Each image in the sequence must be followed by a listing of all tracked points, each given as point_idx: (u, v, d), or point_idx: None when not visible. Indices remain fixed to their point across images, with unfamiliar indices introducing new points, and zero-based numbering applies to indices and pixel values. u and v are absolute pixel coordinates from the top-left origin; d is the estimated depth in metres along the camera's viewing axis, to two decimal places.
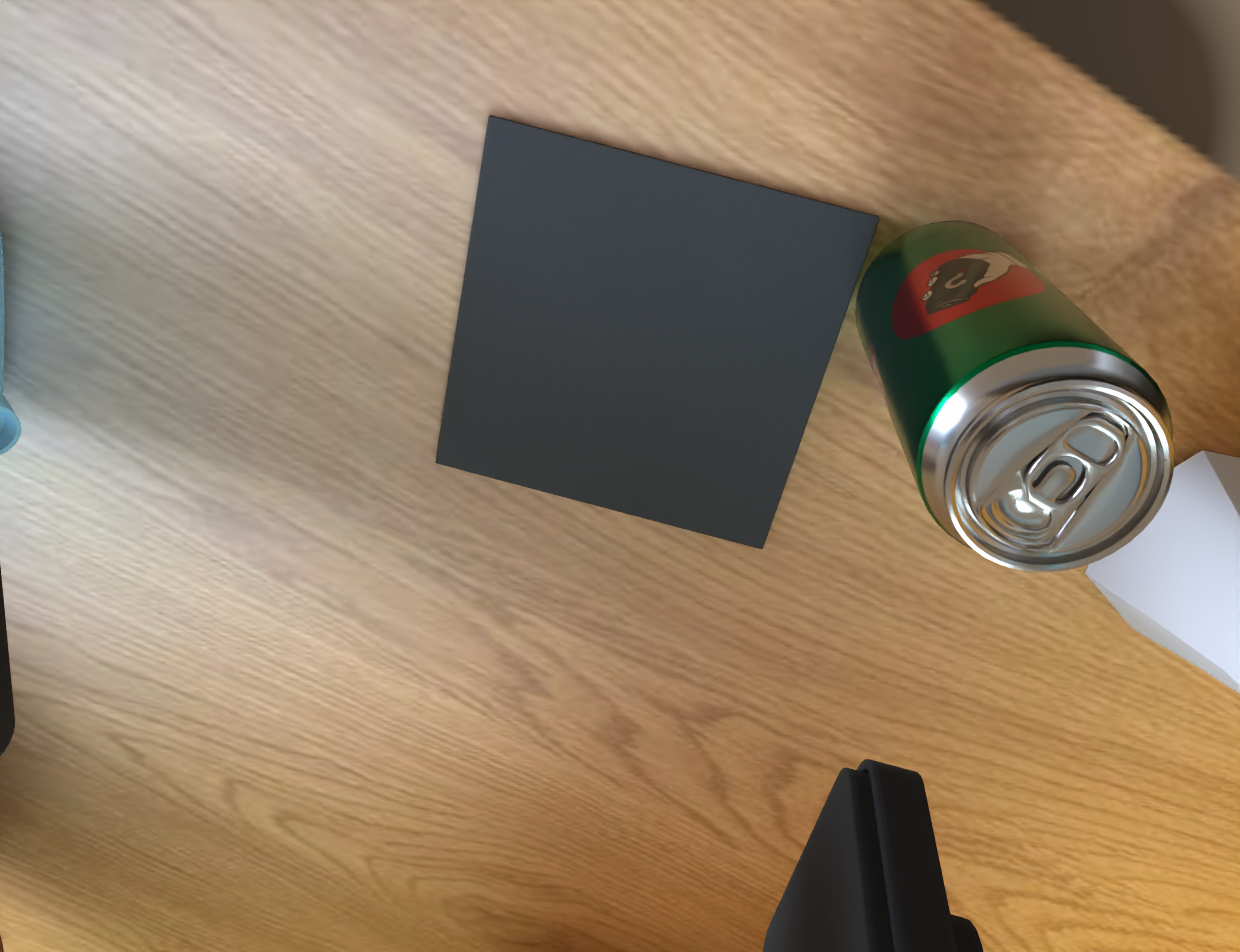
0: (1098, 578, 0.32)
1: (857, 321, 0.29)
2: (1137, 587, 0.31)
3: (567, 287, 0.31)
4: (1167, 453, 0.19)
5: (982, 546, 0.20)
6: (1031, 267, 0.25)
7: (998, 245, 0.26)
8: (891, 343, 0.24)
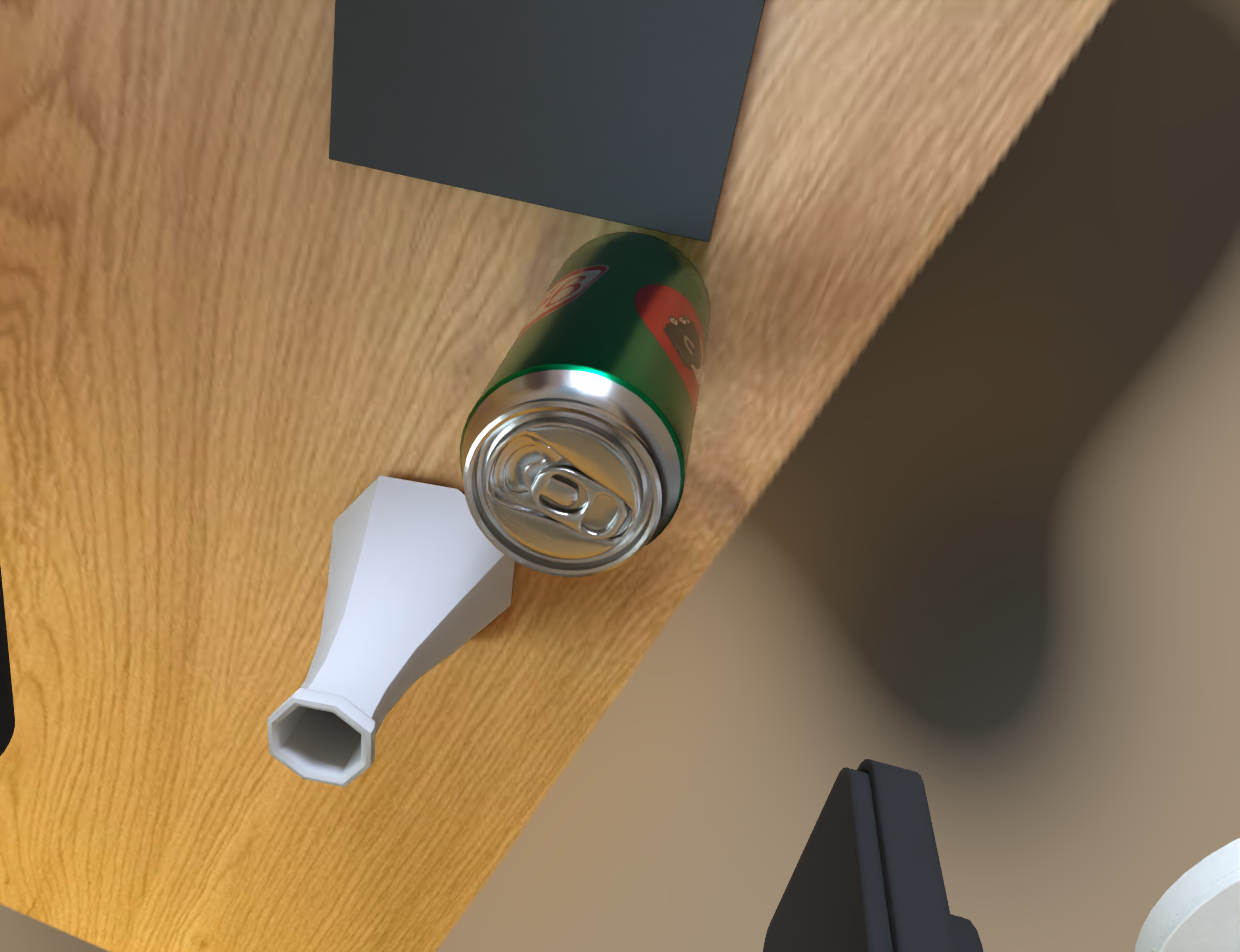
0: (380, 488, 0.34)
1: (610, 237, 0.29)
2: (386, 524, 0.33)
3: None
4: (598, 569, 0.21)
5: (482, 442, 0.20)
6: None
7: None
8: (625, 296, 0.24)
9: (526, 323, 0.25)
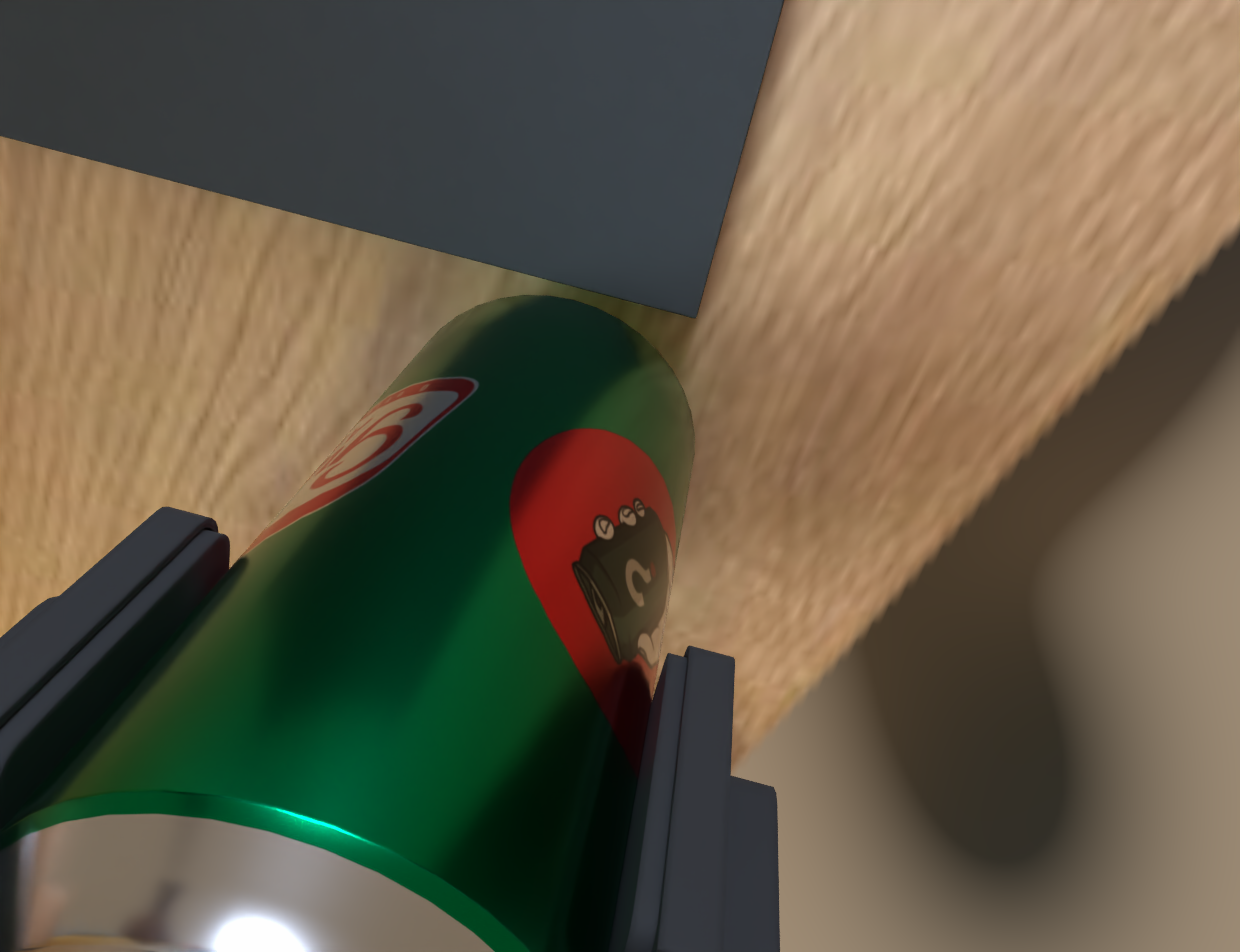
0: None
1: (506, 305, 0.15)
2: None
3: None
4: None
5: None
6: None
7: None
8: (492, 475, 0.10)
9: None
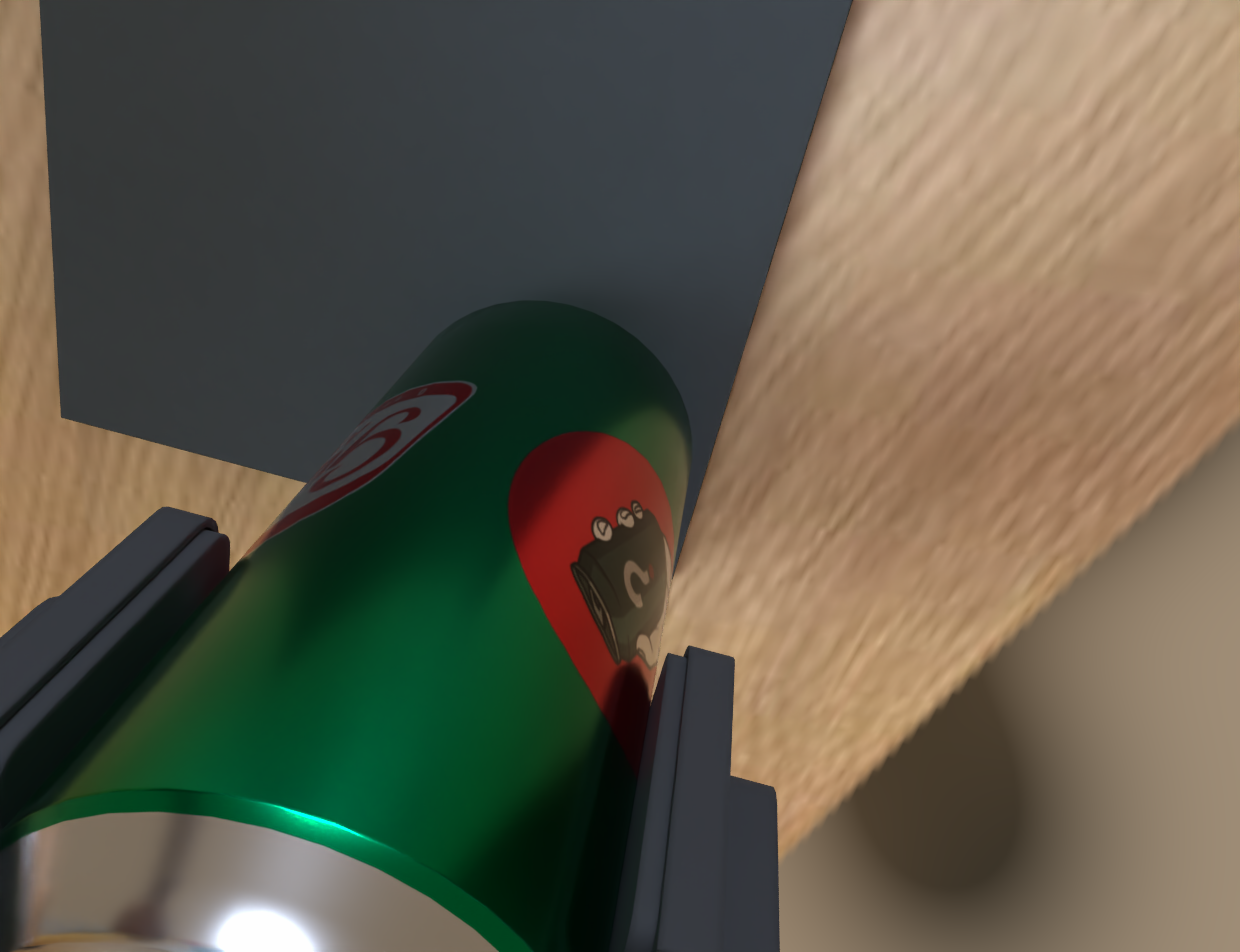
0: None
1: (504, 310, 0.15)
2: None
3: (523, 30, 0.14)
4: None
5: None
6: None
7: None
8: (490, 476, 0.10)
9: None
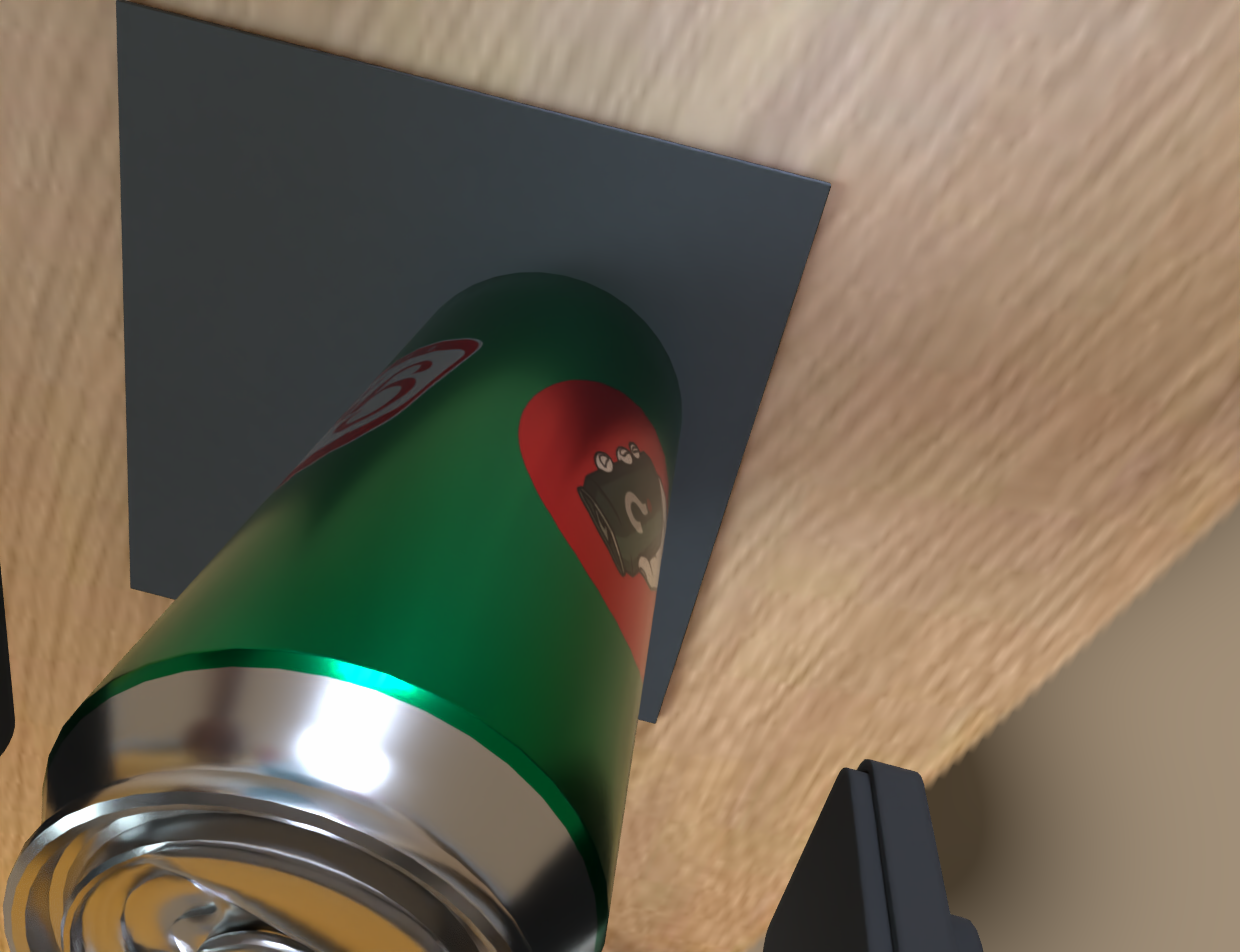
0: None
1: (503, 281, 0.16)
2: None
3: None
4: None
5: (36, 870, 0.07)
6: None
7: None
8: (501, 413, 0.11)
9: None
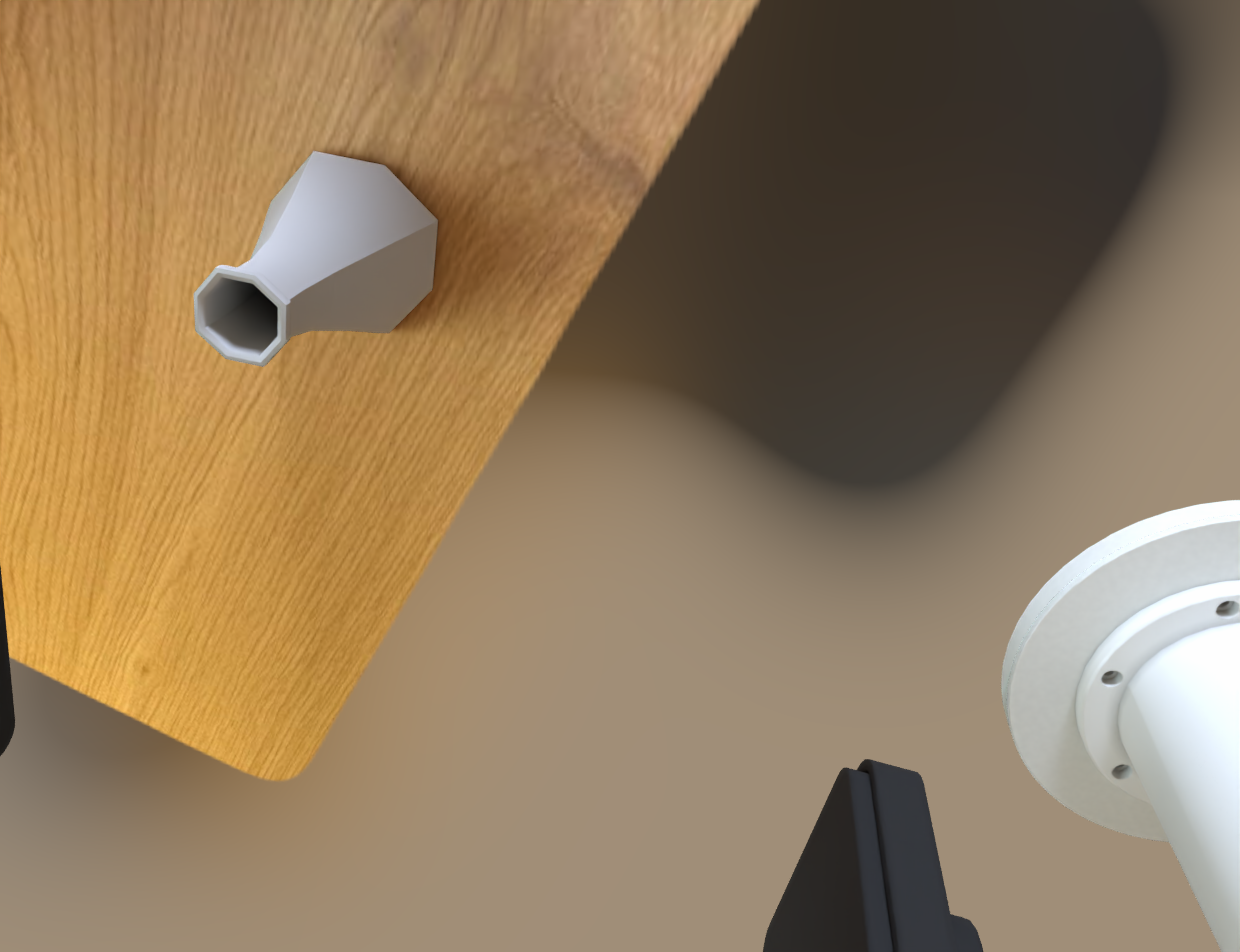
0: (313, 159, 0.38)
1: None
2: (316, 183, 0.37)
3: None
4: None
5: None
6: None
7: None
8: None
9: None
